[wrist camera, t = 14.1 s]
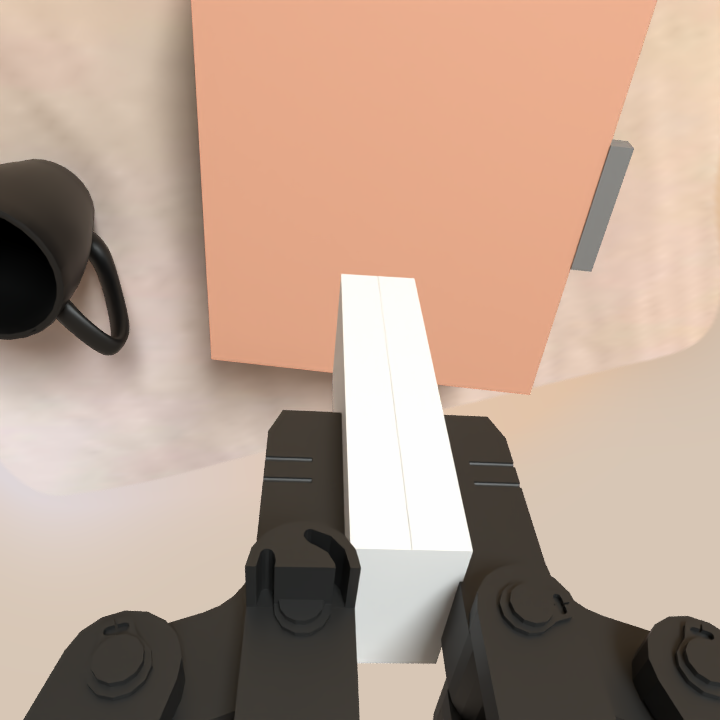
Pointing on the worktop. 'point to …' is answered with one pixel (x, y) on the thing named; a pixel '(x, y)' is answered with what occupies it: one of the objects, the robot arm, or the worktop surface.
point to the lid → (408, 168)
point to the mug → (52, 256)
